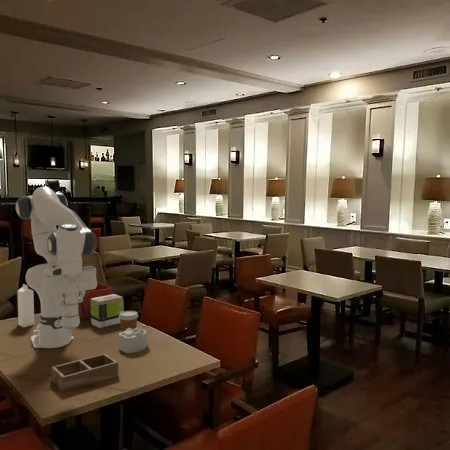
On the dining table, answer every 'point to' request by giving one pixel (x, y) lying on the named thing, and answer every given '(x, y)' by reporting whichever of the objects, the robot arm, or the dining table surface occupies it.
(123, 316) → the disposable coffee cup
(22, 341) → the dining table surface
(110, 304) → the tea box
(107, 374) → the bottle carrier
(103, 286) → the plant pot
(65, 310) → the metal bottle
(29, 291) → the milk
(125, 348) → the lumpy-topped squat cylinder
